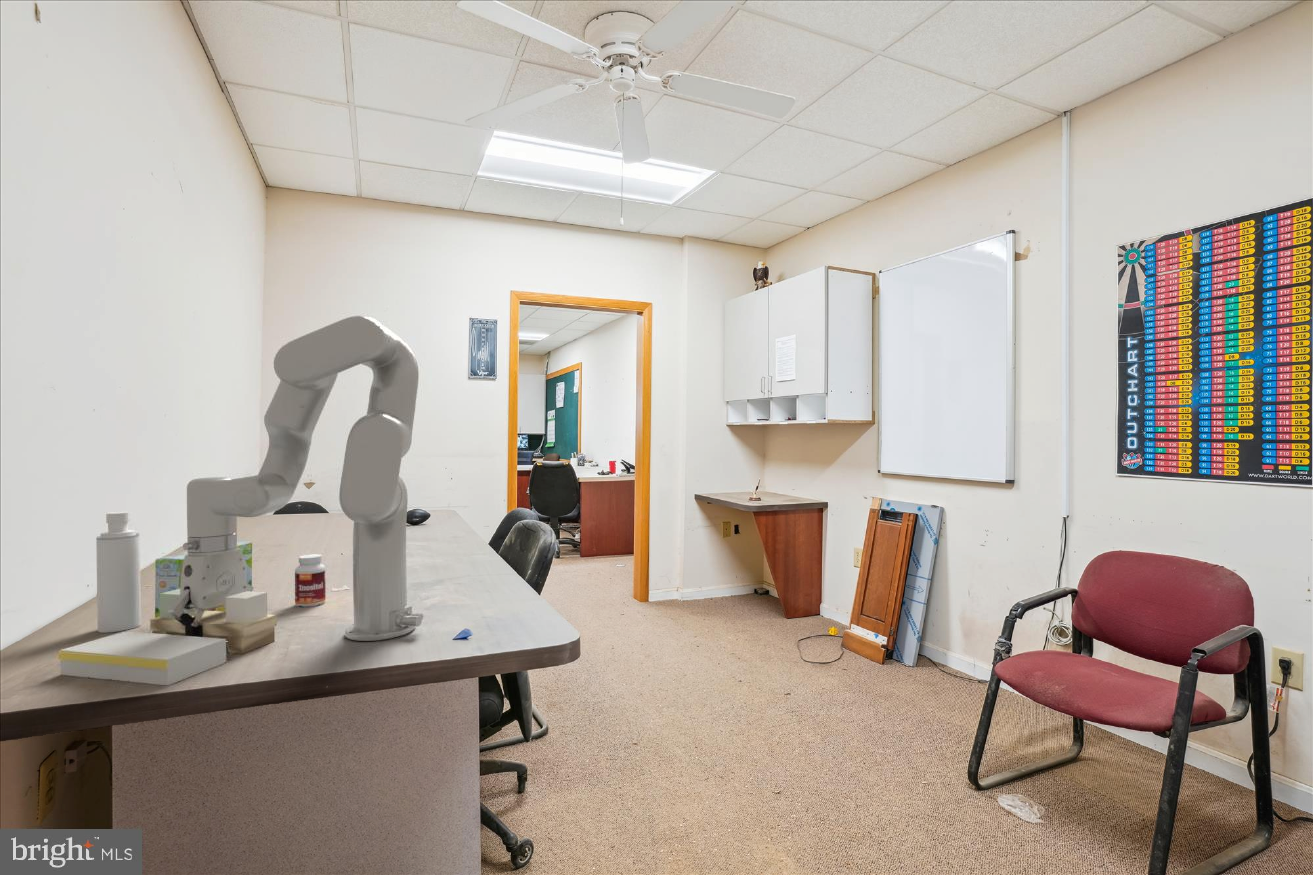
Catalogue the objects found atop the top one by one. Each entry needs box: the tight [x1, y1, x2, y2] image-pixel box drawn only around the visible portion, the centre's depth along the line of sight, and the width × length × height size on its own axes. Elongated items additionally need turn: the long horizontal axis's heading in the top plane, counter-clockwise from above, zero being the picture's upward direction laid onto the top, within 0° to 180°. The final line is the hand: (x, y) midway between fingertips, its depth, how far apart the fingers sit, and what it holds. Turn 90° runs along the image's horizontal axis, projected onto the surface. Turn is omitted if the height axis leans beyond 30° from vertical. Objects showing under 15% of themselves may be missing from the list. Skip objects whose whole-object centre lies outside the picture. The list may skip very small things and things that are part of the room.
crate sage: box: [160, 589, 195, 619], centre depth 118 cm, size 4×4×4 cm
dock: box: [57, 630, 227, 686], centre depth 104 cm, size 22×10×4 cm, turn 76°
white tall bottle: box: [95, 511, 142, 634], centre depth 128 cm, size 7×7×25 cm
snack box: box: [154, 541, 253, 618], centre depth 132 cm, size 21×6×15 cm, turn 179°
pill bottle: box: [294, 553, 327, 608], centre depth 144 cm, size 6×6×11 cm
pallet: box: [149, 610, 278, 655], centre depth 116 cm, size 21×7×5 cm, turn 76°
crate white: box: [226, 591, 269, 624], centre depth 115 cm, size 4×4×4 cm
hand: (214, 639), depth 116 cm, fingers closed on pallet, 7 cm apart
